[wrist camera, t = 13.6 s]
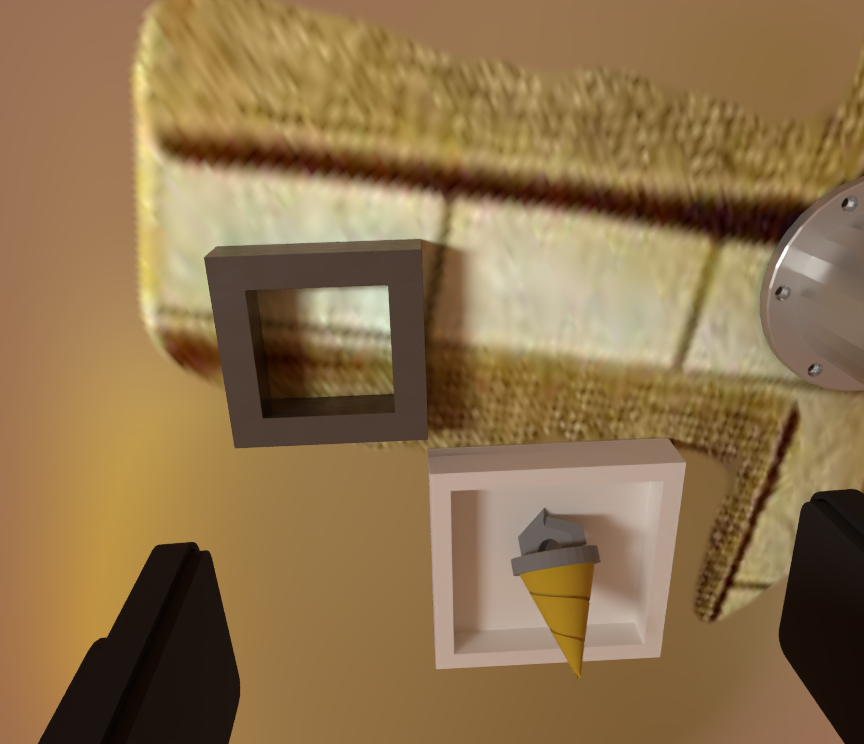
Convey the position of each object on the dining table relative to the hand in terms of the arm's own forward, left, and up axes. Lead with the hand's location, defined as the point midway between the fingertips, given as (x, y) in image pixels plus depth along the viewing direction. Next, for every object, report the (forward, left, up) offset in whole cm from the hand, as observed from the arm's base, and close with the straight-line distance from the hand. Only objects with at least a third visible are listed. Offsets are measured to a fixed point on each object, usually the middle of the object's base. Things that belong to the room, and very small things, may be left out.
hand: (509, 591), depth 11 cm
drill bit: (-7, +21, -28) cm, 35 cm away
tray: (-7, +21, -28) cm, 36 cm away
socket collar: (+6, +6, -28) cm, 29 cm away
